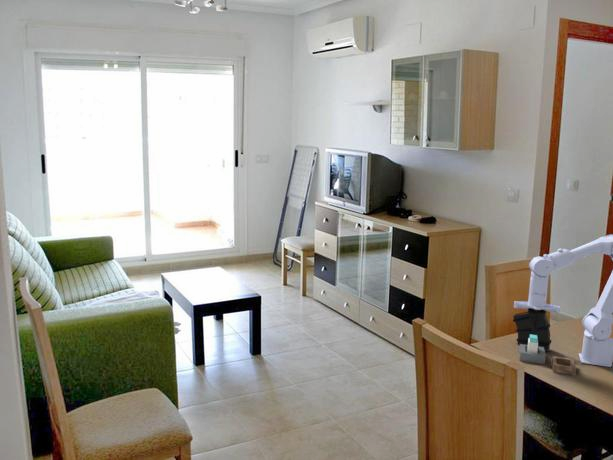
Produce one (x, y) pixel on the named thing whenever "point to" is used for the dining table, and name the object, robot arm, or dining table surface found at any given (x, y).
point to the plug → (532, 344)
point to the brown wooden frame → (563, 365)
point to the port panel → (532, 355)
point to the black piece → (525, 330)
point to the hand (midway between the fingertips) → (534, 329)
